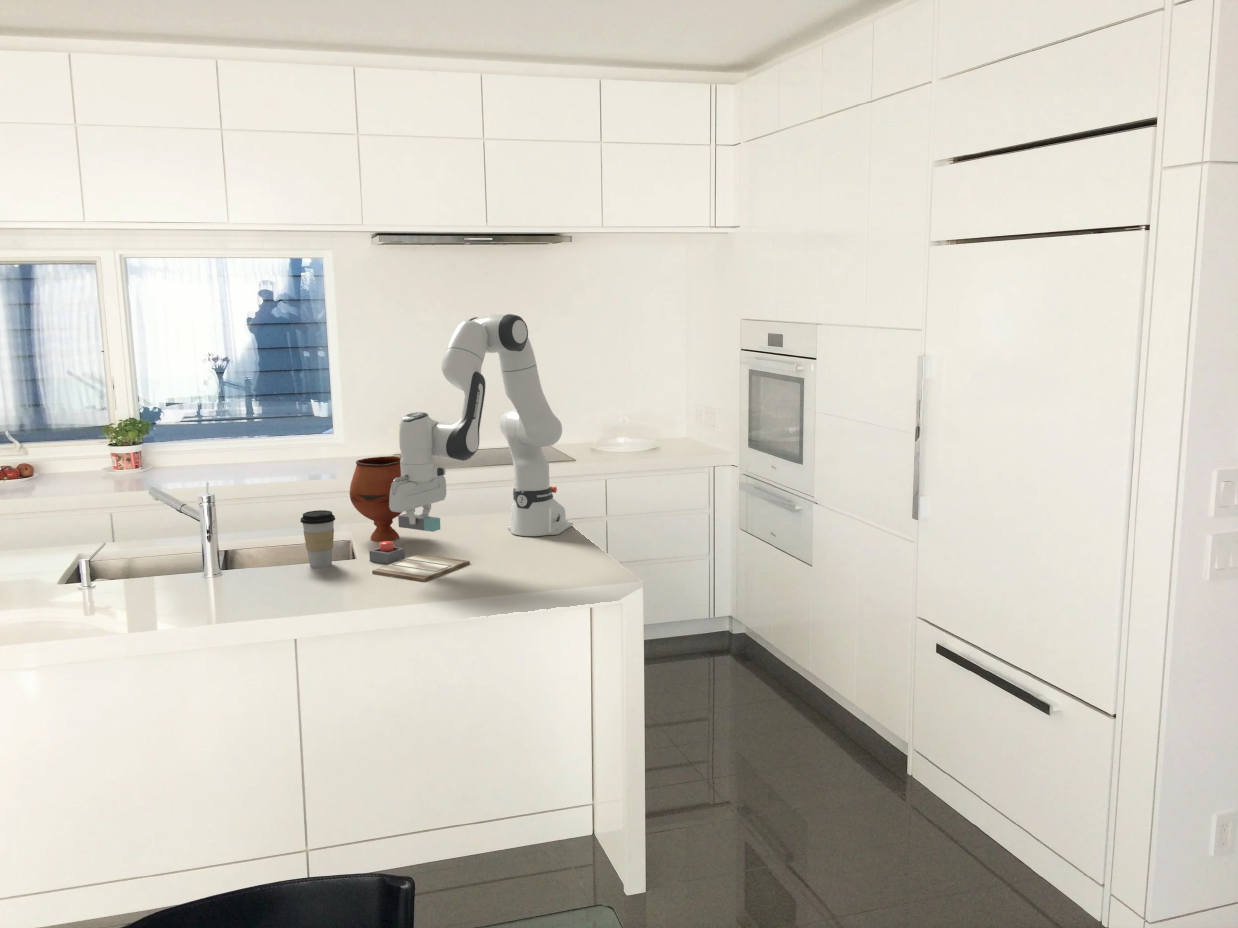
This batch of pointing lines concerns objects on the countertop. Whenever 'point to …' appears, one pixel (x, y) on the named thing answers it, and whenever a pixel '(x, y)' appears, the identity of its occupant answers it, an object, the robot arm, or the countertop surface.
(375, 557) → the button housing
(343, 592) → the countertop surface
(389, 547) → the button
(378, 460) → the goblet
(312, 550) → the coffee cup
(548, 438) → the robot arm
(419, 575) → the drawing board
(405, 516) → the block
